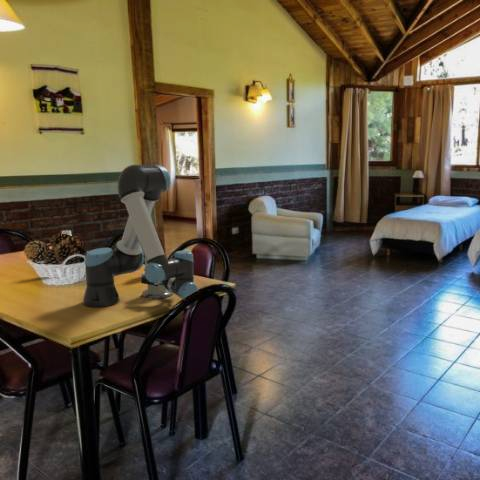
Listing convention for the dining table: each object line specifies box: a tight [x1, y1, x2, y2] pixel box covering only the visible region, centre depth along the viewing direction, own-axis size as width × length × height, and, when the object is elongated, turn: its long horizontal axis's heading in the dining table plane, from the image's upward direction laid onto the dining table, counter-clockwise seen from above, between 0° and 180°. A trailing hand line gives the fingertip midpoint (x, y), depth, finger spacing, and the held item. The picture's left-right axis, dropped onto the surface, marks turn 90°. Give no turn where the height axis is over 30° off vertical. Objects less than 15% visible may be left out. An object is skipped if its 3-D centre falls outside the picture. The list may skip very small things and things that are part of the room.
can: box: [147, 284, 168, 295], centre depth 216 cm, size 9×9×12 cm
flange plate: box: [141, 289, 174, 300], centre depth 218 cm, size 14×14×1 cm
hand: (156, 273), depth 217 cm, fingers open, 13 cm apart
